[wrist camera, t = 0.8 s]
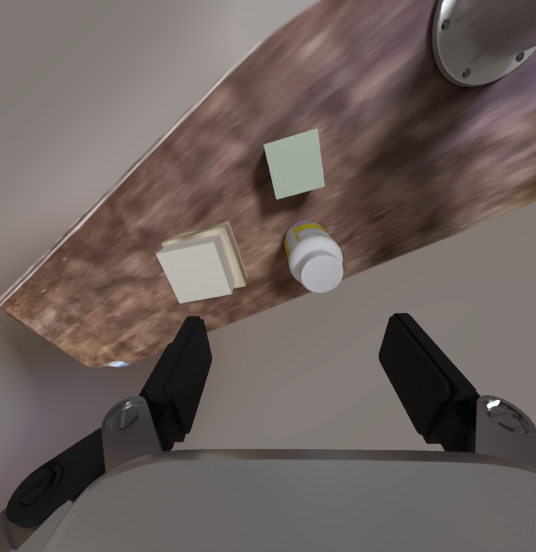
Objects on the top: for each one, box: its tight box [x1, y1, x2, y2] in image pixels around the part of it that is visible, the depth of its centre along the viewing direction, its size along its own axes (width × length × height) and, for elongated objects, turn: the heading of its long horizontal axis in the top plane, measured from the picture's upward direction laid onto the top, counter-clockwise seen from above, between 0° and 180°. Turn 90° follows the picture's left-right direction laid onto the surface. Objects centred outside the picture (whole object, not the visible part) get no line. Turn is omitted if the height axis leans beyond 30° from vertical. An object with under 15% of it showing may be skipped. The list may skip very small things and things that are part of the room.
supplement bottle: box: [285, 220, 343, 293], centre depth 29 cm, size 7×7×13 cm
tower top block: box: [156, 233, 236, 303], centre depth 31 cm, size 8×8×4 cm
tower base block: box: [161, 221, 248, 289], centre depth 35 cm, size 10×10×4 cm
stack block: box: [264, 129, 325, 200], centre depth 27 cm, size 6×6×6 cm
